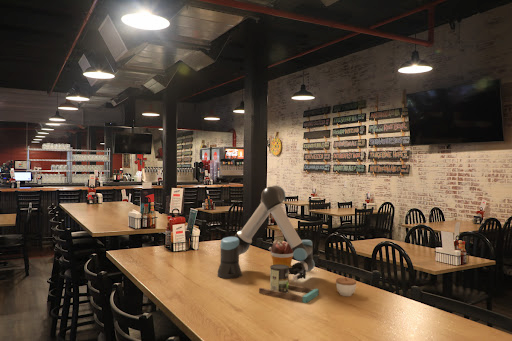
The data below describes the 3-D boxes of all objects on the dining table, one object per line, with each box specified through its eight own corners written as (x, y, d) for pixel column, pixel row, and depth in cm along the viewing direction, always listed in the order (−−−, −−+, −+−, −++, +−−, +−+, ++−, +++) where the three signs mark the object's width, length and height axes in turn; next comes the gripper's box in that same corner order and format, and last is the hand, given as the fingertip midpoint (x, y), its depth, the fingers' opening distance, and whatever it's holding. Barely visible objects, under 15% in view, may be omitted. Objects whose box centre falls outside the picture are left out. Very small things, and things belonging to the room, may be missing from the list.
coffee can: (289, 289, 220) (289, 264, 220) (287, 295, 210) (287, 269, 210) (271, 288, 222) (271, 263, 222) (268, 294, 212) (268, 268, 212)
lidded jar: (341, 298, 207) (341, 280, 207) (332, 292, 217) (332, 275, 217) (359, 296, 210) (360, 279, 210) (349, 290, 220) (350, 274, 220)
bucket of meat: (264, 265, 274) (264, 237, 274) (280, 262, 285) (281, 234, 285) (284, 271, 259) (285, 241, 259) (301, 267, 270) (301, 238, 270)
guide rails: (259, 293, 214) (259, 288, 214) (273, 285, 227) (273, 281, 227) (306, 303, 199) (306, 298, 199) (318, 294, 212) (318, 290, 212)
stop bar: (302, 302, 200) (302, 296, 200) (315, 294, 214) (315, 288, 213) (306, 303, 199) (306, 297, 199) (318, 294, 212) (318, 289, 212)
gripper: (318, 278, 230) (303, 287, 212) (281, 271, 243) (263, 279, 225) (318, 265, 230) (303, 273, 212) (281, 259, 243) (263, 266, 225)
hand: (282, 276), depth 218 cm, fingers open, 13 cm apart
